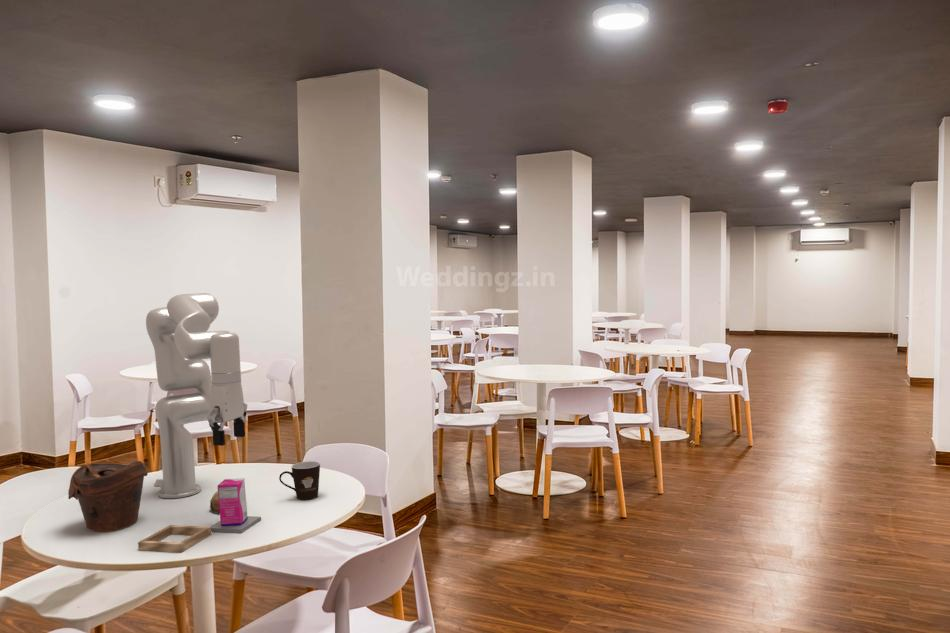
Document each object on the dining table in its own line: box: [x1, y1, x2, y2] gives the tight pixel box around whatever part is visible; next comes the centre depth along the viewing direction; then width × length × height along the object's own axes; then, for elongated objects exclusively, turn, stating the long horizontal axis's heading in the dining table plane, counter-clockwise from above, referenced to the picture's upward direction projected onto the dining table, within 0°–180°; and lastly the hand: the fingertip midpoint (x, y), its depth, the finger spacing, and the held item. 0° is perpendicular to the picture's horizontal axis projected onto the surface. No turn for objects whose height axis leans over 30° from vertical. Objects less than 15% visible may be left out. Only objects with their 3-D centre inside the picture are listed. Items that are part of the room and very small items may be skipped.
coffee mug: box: [278, 460, 321, 501], centre depth 214 cm, size 12×9×10 cm
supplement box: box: [217, 477, 249, 526], centre depth 190 cm, size 6×6×12 cm
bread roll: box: [209, 490, 220, 515], centre depth 206 cm, size 10×10×8 cm
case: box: [67, 460, 149, 532], centre depth 195 cm, size 18×20×18 cm
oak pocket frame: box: [137, 524, 212, 553], centre depth 180 cm, size 12×12×2 cm
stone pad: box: [209, 515, 262, 534], centre depth 190 cm, size 10×10×1 cm
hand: (229, 440), depth 189 cm, fingers open, 9 cm apart
